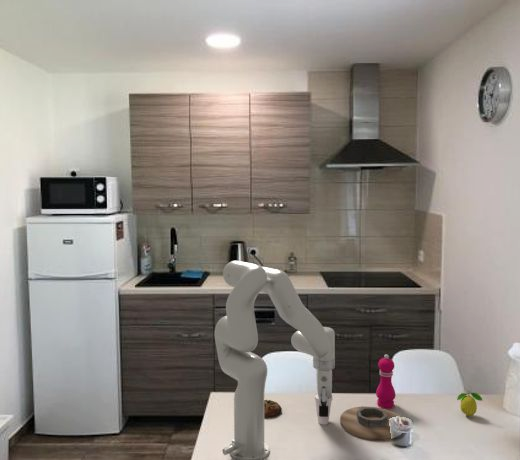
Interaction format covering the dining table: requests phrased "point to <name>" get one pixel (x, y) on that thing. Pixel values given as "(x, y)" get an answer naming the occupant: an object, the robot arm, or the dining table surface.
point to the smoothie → (320, 419)
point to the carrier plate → (367, 422)
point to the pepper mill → (385, 384)
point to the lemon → (469, 403)
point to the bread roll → (271, 408)
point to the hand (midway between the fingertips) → (323, 411)
